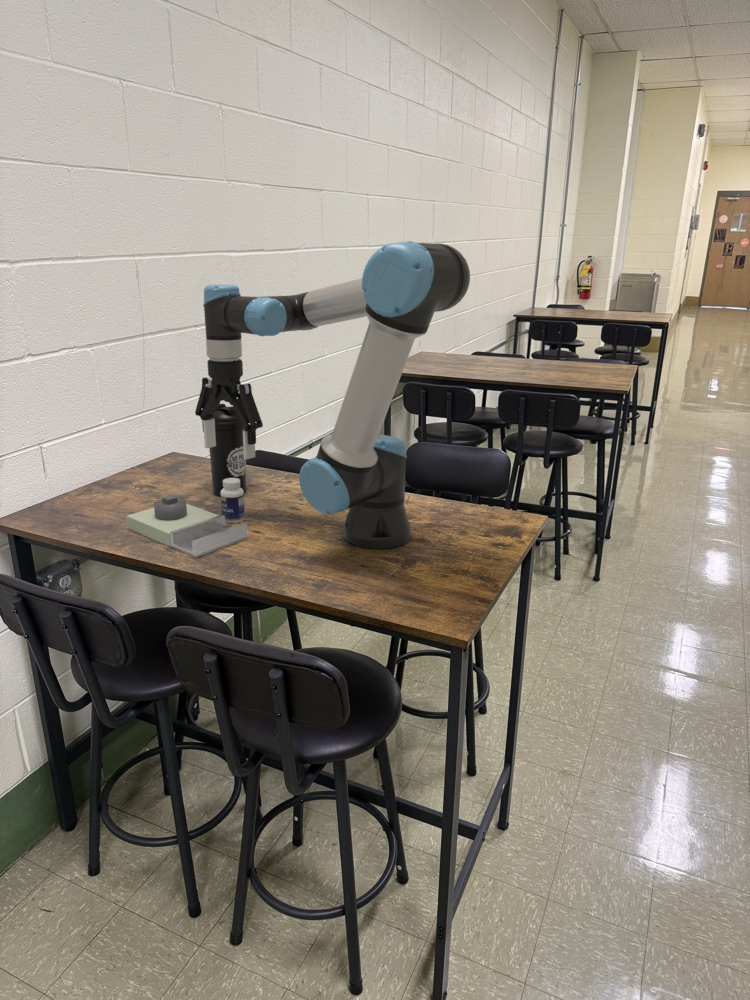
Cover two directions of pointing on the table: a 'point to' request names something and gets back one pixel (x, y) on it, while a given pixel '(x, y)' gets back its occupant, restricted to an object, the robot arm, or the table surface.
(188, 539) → the grey metal channel
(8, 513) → the table surface
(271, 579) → the table surface
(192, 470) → the table surface
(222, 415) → the water bottle
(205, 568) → the table surface
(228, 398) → the robot arm
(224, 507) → the pill bottle
